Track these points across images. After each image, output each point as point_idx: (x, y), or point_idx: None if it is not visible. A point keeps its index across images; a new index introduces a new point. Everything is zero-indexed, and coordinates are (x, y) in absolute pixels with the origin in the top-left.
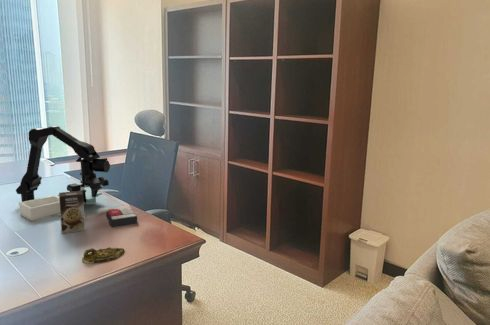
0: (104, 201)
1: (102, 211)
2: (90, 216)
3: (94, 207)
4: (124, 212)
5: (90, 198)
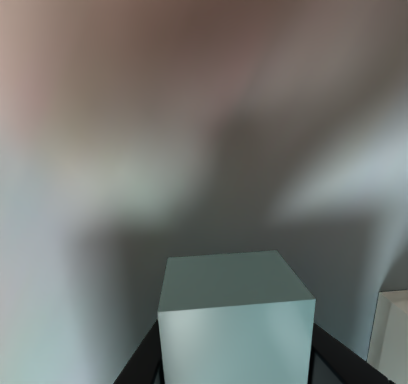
0: (27, 360)
1: (160, 118)
2: (319, 62)
3: None
4: None
5: (254, 320)
